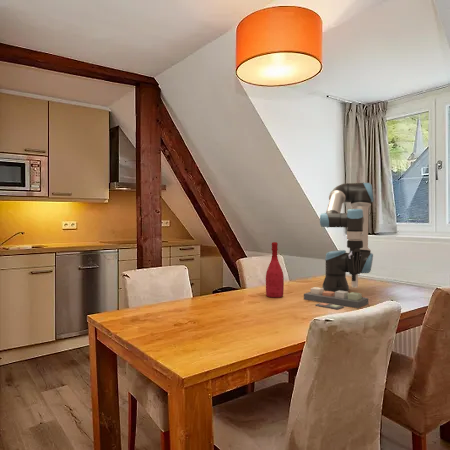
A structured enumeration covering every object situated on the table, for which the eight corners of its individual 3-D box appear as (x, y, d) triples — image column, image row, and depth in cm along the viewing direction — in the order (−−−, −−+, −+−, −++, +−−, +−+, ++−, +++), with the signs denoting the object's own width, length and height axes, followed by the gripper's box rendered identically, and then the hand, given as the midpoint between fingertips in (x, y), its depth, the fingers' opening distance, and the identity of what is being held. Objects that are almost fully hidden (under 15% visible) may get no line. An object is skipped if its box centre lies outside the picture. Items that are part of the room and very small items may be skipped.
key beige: (334, 298, 201) (334, 291, 201) (339, 296, 204) (339, 290, 204) (343, 299, 197) (343, 293, 197) (348, 297, 201) (348, 291, 201)
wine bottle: (283, 294, 221) (283, 241, 220) (284, 298, 211) (284, 242, 211) (265, 294, 222) (265, 241, 221) (265, 298, 212) (265, 242, 212)
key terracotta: (322, 298, 205) (322, 292, 205) (326, 296, 209) (327, 290, 209) (331, 299, 202) (331, 293, 202) (335, 298, 206) (335, 292, 206)
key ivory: (310, 294, 210) (310, 288, 210) (315, 292, 214) (315, 287, 214) (318, 295, 207) (318, 289, 207) (323, 294, 210) (323, 288, 210)
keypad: (303, 299, 209) (303, 293, 209) (315, 295, 218) (315, 290, 218) (358, 308, 189) (358, 302, 189) (368, 303, 198) (368, 298, 197)
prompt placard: (315, 305, 194) (315, 304, 194) (321, 303, 199) (321, 301, 199) (337, 309, 186) (337, 307, 186) (343, 307, 191) (343, 305, 191)
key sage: (347, 300, 196) (347, 293, 196) (352, 298, 200) (352, 292, 200) (357, 301, 193) (357, 295, 192) (361, 299, 196) (361, 293, 196)
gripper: (356, 240, 188) (356, 290, 188) (367, 239, 197) (367, 286, 198) (341, 240, 193) (341, 288, 194) (353, 239, 203) (353, 284, 203)
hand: (354, 287), depth 196 cm, fingers closed
